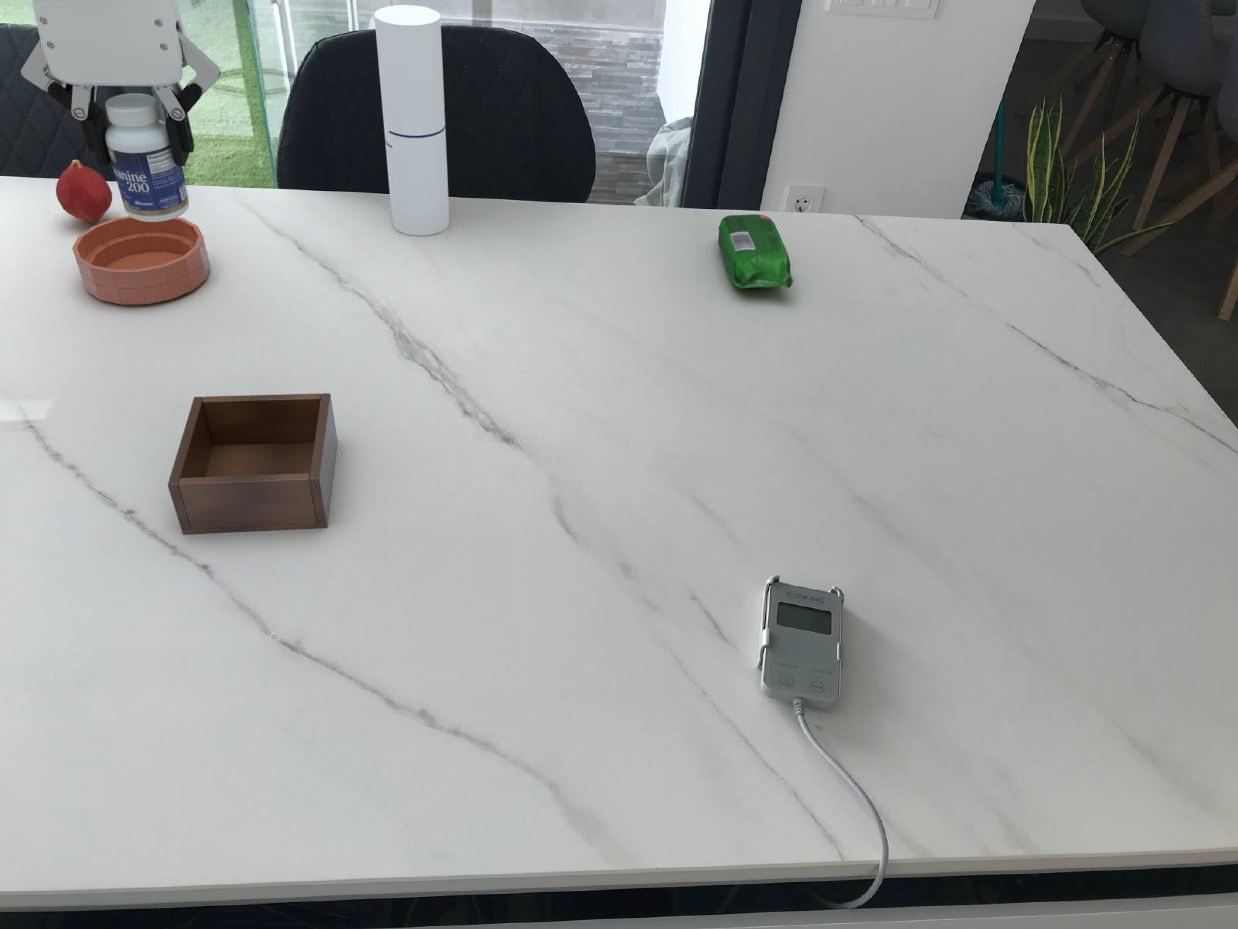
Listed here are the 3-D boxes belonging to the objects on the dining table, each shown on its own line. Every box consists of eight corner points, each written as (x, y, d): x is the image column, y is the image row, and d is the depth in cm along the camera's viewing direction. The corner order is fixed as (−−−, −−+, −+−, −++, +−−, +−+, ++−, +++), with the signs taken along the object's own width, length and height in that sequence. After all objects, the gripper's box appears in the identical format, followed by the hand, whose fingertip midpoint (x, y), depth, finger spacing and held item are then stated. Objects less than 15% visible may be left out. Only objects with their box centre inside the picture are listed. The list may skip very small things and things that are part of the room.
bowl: (70, 308, 104) (57, 272, 101) (101, 248, 114) (90, 214, 111) (198, 306, 106) (190, 271, 103) (218, 248, 116) (211, 214, 113)
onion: (56, 223, 118) (35, 159, 112) (99, 207, 121) (81, 144, 116) (85, 238, 115) (65, 174, 110) (129, 222, 119) (111, 159, 114)
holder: (182, 534, 81) (167, 484, 77) (206, 444, 89) (193, 396, 86) (327, 527, 82) (319, 478, 79) (337, 440, 91) (330, 392, 87)
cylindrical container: (424, 241, 121) (410, 29, 104) (380, 224, 123) (360, 14, 107) (460, 220, 125) (453, 14, 109) (417, 204, 128) (404, 0, 112)
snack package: (731, 305, 114) (738, 265, 111) (711, 239, 126) (717, 202, 123) (790, 306, 115) (799, 267, 112) (765, 241, 127) (772, 204, 124)
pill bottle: (112, 212, 87) (80, 102, 80) (162, 191, 90) (135, 84, 84) (154, 229, 85) (125, 119, 79) (203, 207, 88) (179, 100, 82)
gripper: (214, -82, 77) (254, 142, 89) (-24, -91, 74) (50, 142, 86) (199, -57, 71) (244, 178, 83) (-59, -66, 69) (25, 179, 80)
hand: (145, 157), depth 84 cm, fingers closed on pill bottle, 5 cm apart
